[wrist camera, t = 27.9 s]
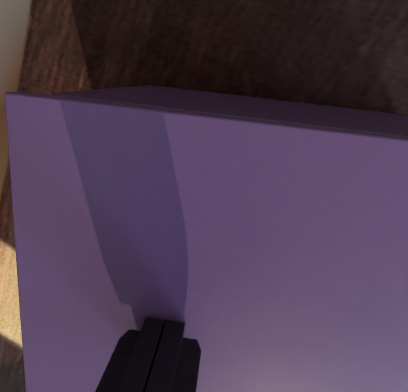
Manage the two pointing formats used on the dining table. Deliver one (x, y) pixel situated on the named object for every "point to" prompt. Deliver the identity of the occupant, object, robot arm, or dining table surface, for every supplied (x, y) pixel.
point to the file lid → (209, 245)
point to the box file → (251, 108)
